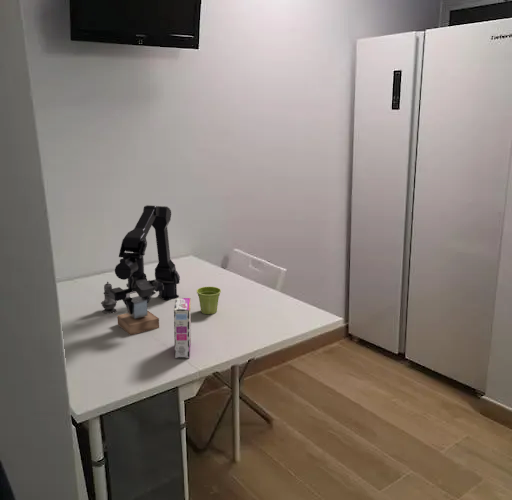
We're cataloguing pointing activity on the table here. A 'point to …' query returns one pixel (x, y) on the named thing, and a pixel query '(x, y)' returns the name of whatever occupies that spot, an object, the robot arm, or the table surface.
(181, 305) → the candy bar box
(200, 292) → the plant pot
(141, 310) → the slate tin
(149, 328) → the walnut block
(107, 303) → the dark grey tall piece
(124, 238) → the robot arm
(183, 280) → the table surface
